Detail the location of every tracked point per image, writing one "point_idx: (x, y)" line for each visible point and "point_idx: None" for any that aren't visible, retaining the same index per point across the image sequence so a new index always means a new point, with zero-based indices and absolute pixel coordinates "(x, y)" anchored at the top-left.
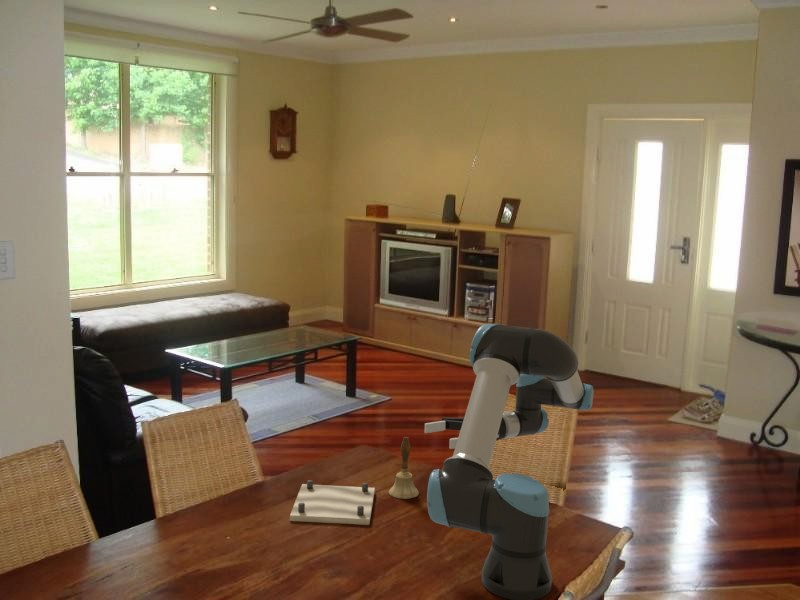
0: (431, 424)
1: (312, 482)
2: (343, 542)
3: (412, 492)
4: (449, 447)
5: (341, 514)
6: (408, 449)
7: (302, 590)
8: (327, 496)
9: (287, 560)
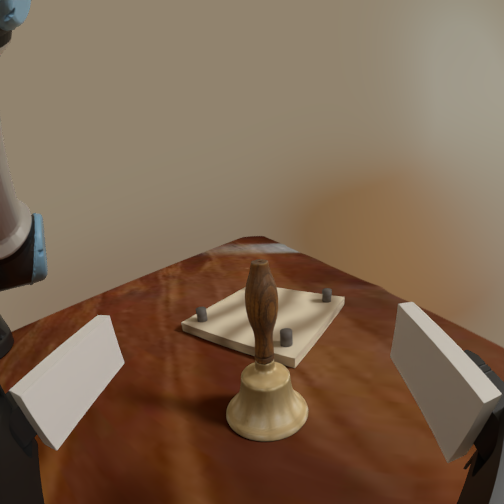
0: (415, 330)
1: (323, 292)
2: (169, 306)
3: (233, 410)
4: (120, 358)
5: (219, 308)
6: (245, 300)
7: (136, 280)
8: (287, 308)
9: (179, 281)
